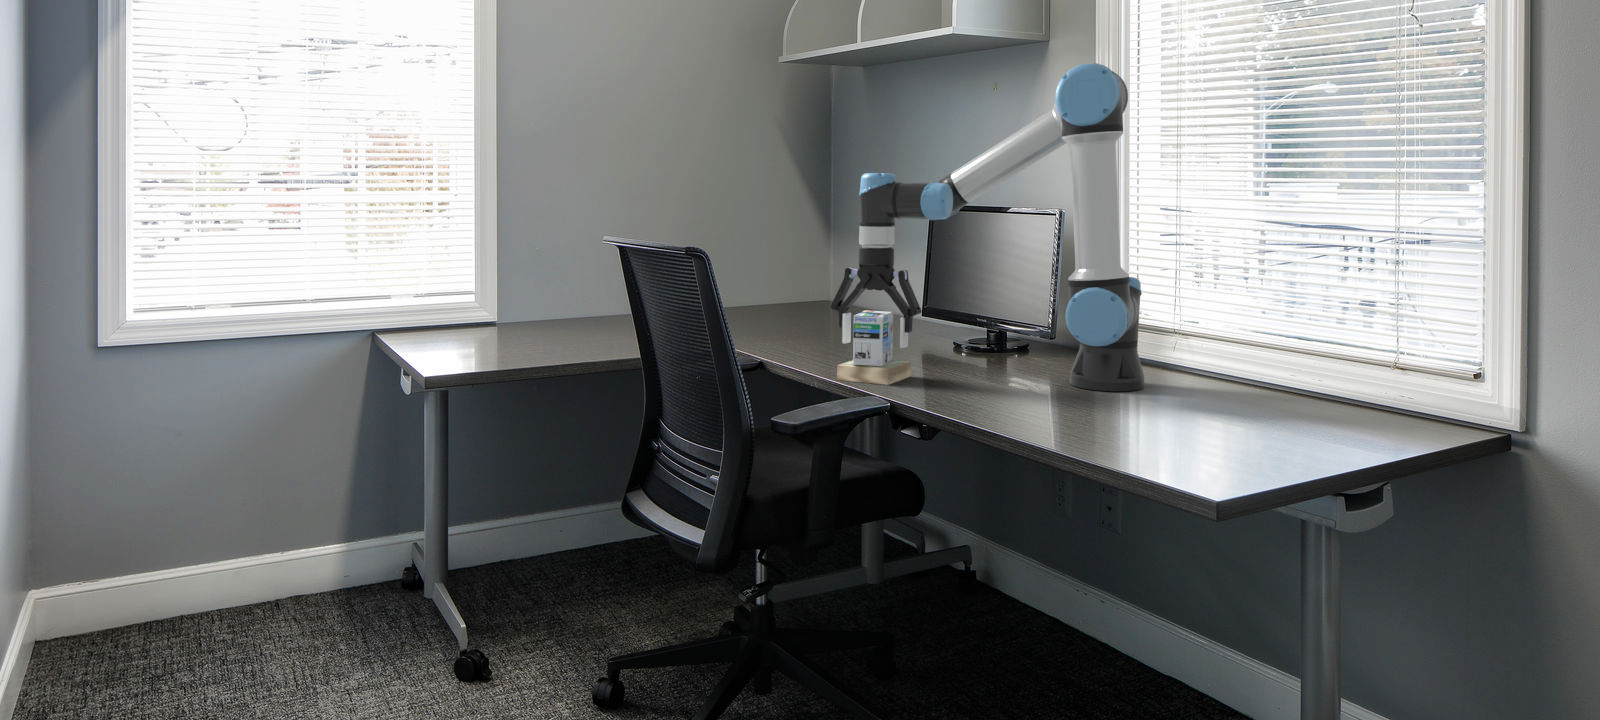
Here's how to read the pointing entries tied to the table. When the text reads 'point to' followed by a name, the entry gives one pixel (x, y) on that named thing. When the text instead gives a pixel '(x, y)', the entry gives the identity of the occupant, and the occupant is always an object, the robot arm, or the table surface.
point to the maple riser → (874, 372)
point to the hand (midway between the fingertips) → (874, 345)
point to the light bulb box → (873, 338)
